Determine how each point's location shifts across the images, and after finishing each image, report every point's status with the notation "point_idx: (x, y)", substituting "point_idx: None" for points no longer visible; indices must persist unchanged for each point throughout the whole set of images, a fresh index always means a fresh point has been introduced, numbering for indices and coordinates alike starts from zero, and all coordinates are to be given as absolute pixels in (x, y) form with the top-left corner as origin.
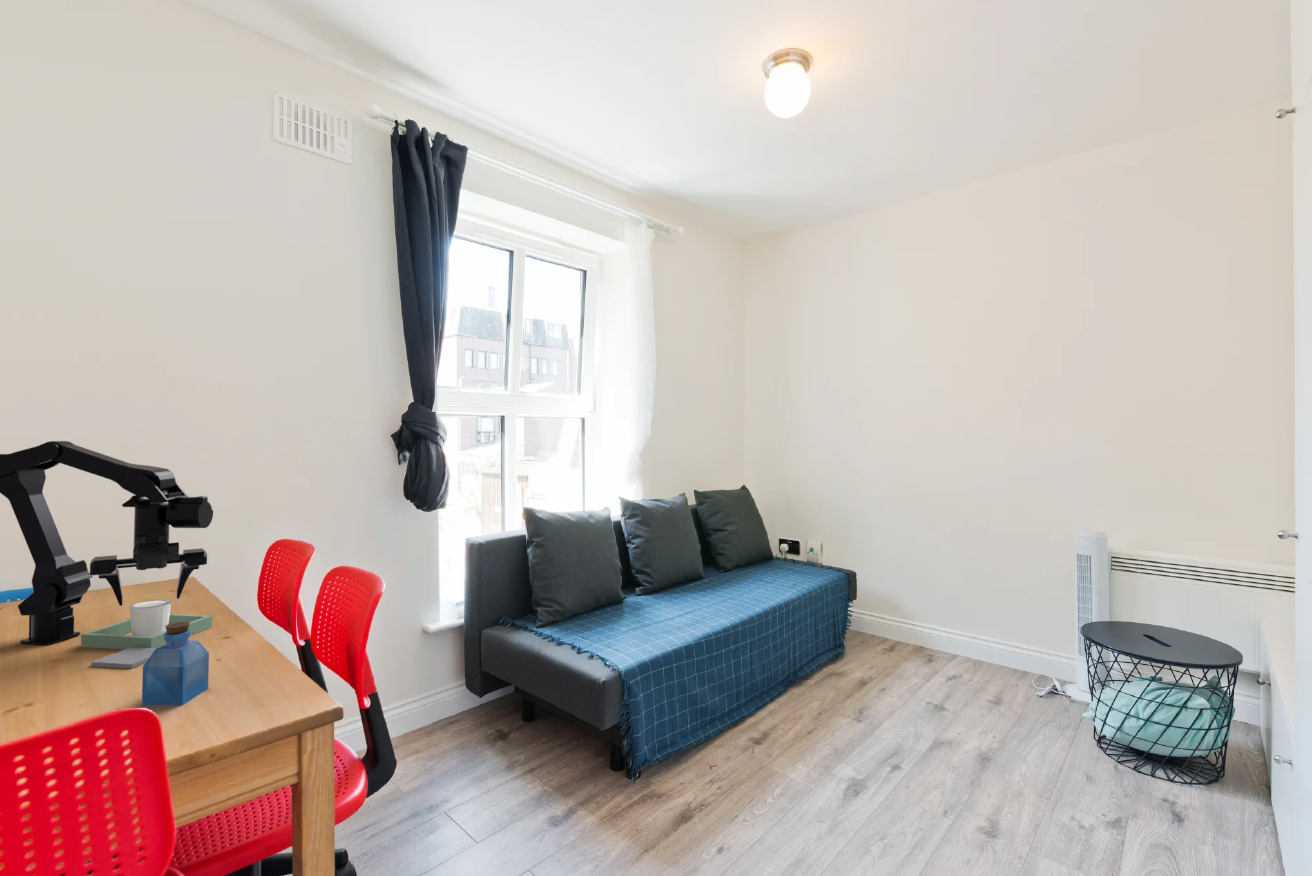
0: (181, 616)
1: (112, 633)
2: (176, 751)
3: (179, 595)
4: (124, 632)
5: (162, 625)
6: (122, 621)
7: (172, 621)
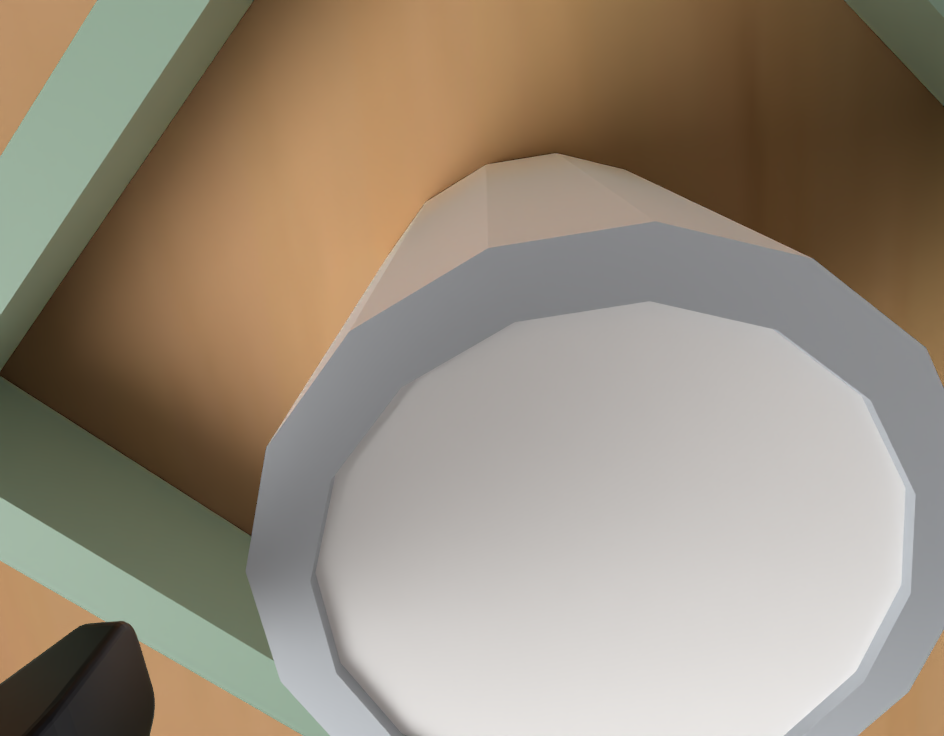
0: (236, 630)
1: None
2: None
3: (42, 663)
4: None
5: (402, 240)
6: None
7: None
